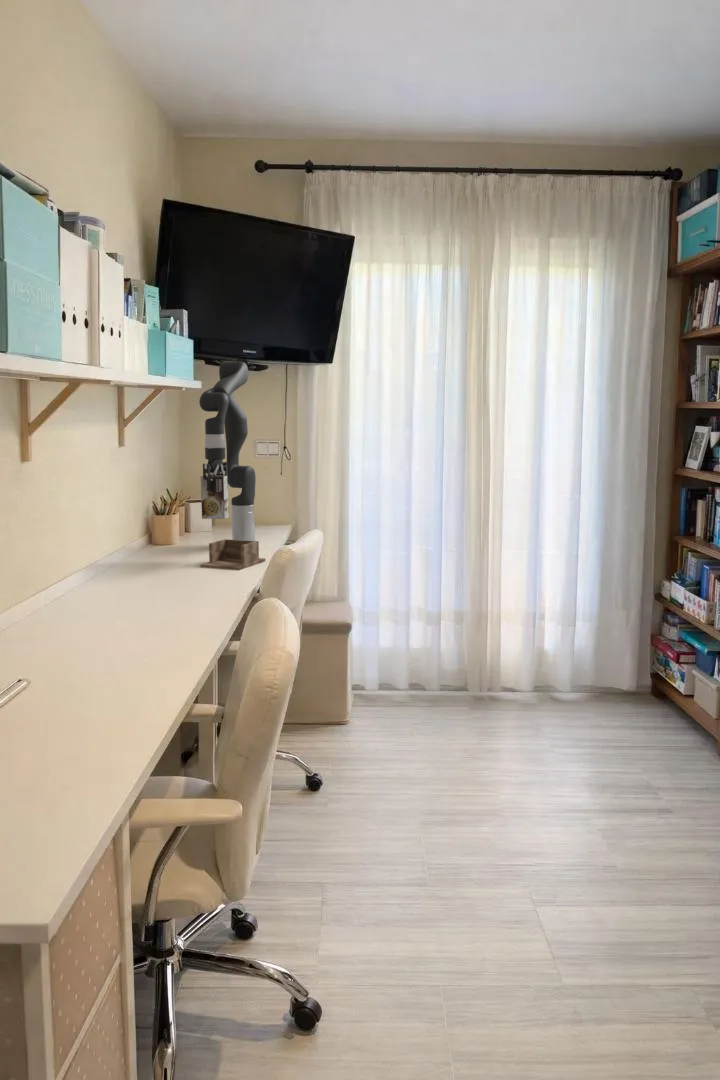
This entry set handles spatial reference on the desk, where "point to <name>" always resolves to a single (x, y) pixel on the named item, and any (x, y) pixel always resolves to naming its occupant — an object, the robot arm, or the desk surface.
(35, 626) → the desk surface
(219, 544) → the holder
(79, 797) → the desk surface
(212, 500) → the coffee box
